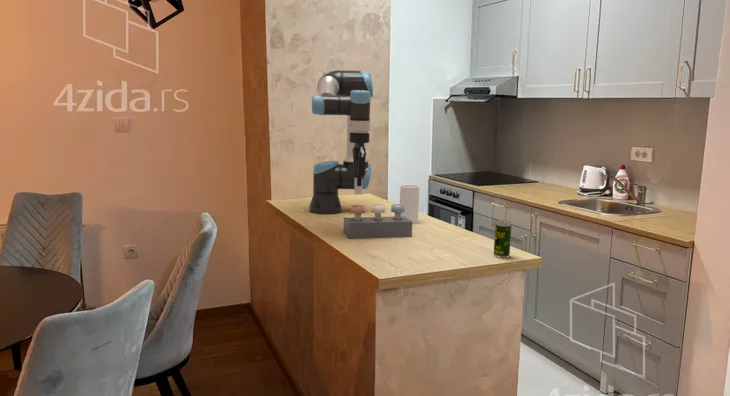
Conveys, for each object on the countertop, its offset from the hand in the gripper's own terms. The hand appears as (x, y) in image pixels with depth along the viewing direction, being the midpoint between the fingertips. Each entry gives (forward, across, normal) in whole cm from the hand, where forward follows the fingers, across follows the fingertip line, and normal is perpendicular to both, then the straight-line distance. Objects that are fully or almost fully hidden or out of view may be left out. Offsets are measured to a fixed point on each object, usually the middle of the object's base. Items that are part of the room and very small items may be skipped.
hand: (358, 194), depth 213 cm
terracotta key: (+12, 0, 0) cm, 12 cm away
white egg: (+12, 0, +8) cm, 15 cm away
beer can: (+17, +36, +43) cm, 58 cm away
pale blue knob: (+12, 0, +16) cm, 20 cm away
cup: (+16, -21, +28) cm, 38 cm away
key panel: (+16, 0, +8) cm, 18 cm away
